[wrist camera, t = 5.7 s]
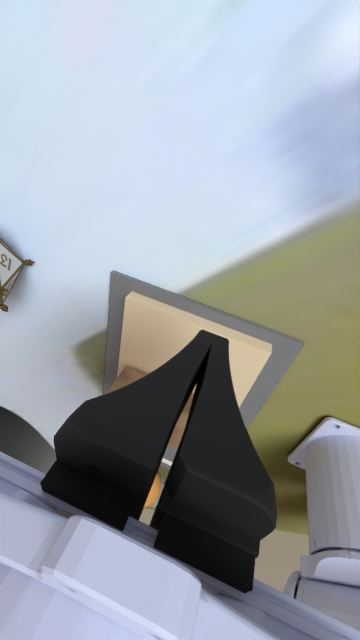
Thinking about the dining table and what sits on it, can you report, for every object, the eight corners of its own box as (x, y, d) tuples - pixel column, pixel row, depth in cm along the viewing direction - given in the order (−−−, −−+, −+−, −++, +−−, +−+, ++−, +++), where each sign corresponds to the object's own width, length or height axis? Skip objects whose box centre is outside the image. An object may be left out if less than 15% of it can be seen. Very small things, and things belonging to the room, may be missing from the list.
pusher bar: (226, 409, 24) (216, 452, 21) (220, 421, 25) (209, 464, 22) (125, 366, 25) (100, 400, 22) (123, 379, 27) (100, 414, 23)
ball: (150, 516, 38) (164, 478, 41) (153, 512, 34) (168, 470, 37) (118, 500, 38) (134, 464, 41) (117, 494, 34) (135, 455, 38)
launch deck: (304, 341, 20) (305, 363, 18) (194, 503, 41) (189, 521, 39) (113, 270, 23) (96, 283, 21) (100, 458, 43) (91, 473, 41)
